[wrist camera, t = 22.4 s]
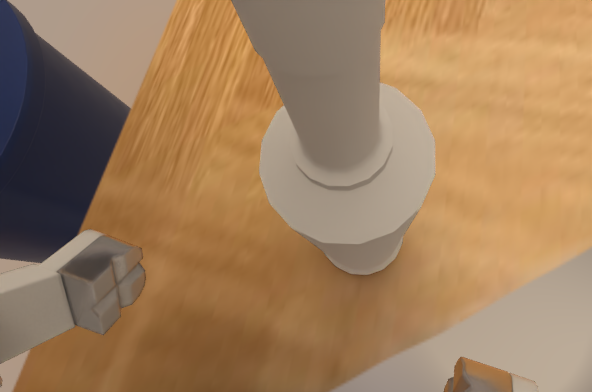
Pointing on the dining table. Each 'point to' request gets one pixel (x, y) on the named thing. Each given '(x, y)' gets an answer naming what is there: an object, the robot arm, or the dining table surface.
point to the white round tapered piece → (338, 130)
